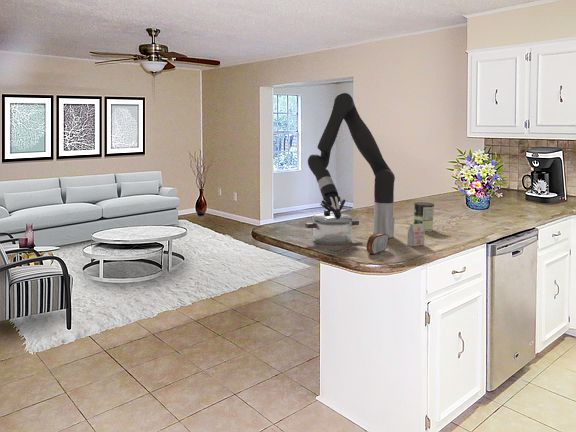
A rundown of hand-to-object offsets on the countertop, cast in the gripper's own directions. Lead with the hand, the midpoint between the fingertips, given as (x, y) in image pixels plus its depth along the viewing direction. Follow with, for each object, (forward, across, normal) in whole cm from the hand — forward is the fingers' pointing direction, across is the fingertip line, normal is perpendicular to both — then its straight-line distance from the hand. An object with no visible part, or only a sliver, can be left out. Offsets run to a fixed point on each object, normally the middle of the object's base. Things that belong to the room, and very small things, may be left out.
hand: (338, 217), depth 236 cm
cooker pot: (+4, 0, +13) cm, 14 cm away
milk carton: (+20, +32, -2) cm, 38 cm away
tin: (+24, +8, -6) cm, 26 cm away
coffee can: (-1, +58, +19) cm, 61 cm away
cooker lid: (-3, 0, +6) cm, 7 cm away
